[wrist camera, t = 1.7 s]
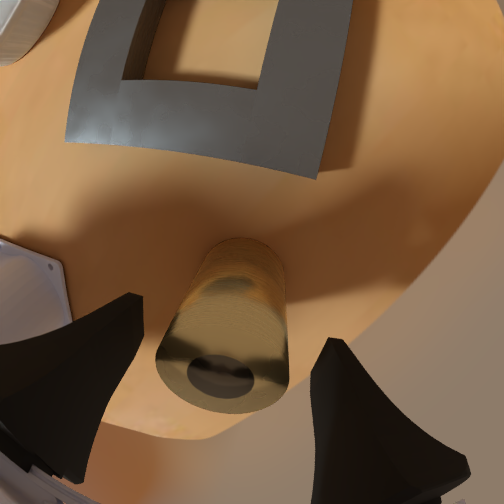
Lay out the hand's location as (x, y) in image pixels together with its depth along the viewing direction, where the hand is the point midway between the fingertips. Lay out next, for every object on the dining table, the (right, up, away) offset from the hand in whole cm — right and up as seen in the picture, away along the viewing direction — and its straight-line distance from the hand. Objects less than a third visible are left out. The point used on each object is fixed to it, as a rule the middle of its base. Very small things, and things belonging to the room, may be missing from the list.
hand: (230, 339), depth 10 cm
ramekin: (-16, +21, -2) cm, 26 cm away
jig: (-1, +14, 0) cm, 14 cm away
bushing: (0, +2, +5) cm, 5 cm away
